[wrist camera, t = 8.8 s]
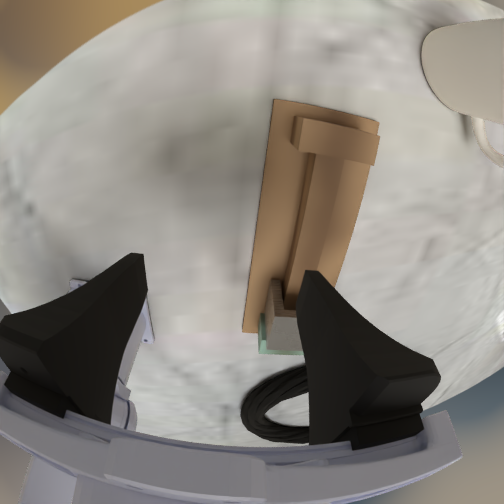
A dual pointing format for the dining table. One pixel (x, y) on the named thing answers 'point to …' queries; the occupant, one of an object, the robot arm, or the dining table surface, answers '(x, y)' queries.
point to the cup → (469, 73)
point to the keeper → (280, 322)
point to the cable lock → (268, 398)
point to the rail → (306, 202)
